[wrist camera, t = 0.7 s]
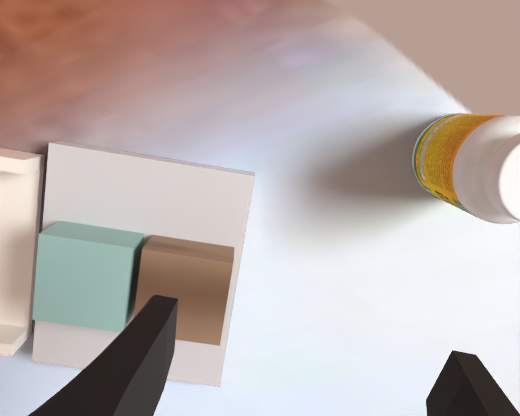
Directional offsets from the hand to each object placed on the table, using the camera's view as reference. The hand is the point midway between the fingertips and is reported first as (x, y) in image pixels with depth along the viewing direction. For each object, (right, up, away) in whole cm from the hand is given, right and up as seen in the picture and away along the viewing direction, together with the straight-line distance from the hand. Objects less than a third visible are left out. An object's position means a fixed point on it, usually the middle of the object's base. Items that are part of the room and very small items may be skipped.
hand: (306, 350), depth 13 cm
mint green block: (-11, 0, +17) cm, 20 cm away
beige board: (-9, 0, +18) cm, 20 cm away
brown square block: (-6, -1, +17) cm, 18 cm away
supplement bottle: (+11, +7, +18) cm, 22 cm away
